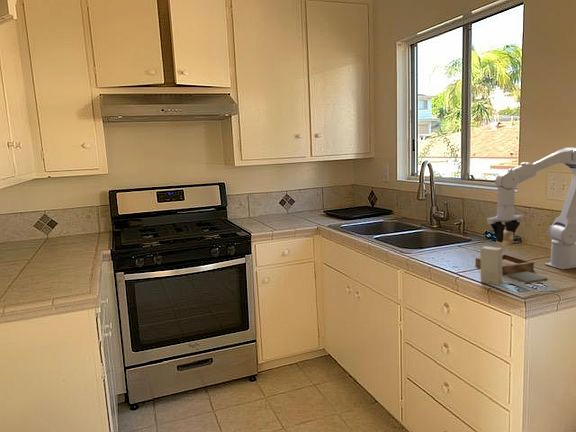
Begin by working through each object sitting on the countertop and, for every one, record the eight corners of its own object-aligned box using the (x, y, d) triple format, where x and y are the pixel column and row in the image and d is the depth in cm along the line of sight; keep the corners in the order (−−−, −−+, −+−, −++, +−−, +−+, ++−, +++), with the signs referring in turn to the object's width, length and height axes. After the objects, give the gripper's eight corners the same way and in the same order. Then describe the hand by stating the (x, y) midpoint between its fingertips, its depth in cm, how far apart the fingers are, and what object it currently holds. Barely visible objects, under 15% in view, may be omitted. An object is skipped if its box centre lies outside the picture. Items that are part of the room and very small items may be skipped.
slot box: (505, 261, 179) (505, 253, 178) (533, 270, 165) (533, 262, 165) (475, 265, 175) (475, 258, 174) (501, 275, 162) (502, 267, 161)
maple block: (504, 243, 171) (505, 230, 170) (512, 245, 167) (513, 232, 167) (496, 244, 170) (496, 231, 169) (503, 246, 166) (504, 233, 165)
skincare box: (502, 282, 154) (503, 247, 152) (498, 285, 151) (499, 250, 149) (484, 279, 158) (485, 245, 156) (479, 282, 155) (480, 248, 153)
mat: (526, 272, 163) (526, 271, 163) (547, 279, 154) (547, 278, 154) (506, 276, 160) (506, 274, 160) (526, 283, 152) (526, 281, 152)
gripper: (513, 202, 172) (512, 237, 174) (481, 205, 168) (480, 240, 170) (528, 204, 165) (526, 240, 168) (495, 207, 161) (494, 244, 164)
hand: (504, 241), depth 168 cm, fingers closed on maple block, 4 cm apart
